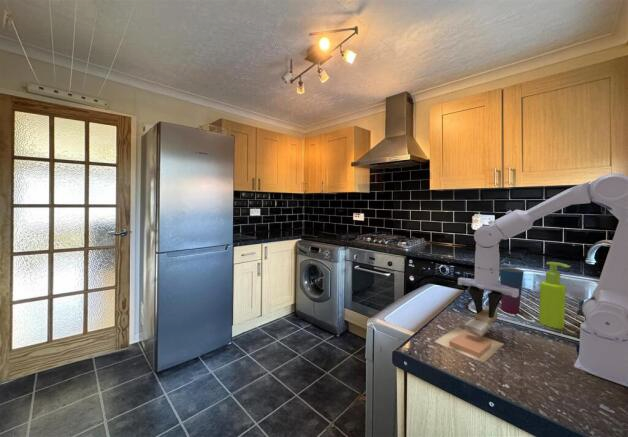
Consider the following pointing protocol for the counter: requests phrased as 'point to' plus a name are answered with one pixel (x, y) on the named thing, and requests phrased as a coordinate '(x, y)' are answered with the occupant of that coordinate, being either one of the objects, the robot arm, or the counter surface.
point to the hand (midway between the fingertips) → (485, 315)
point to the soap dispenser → (552, 298)
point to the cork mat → (486, 355)
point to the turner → (480, 323)
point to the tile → (470, 344)
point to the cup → (514, 280)
